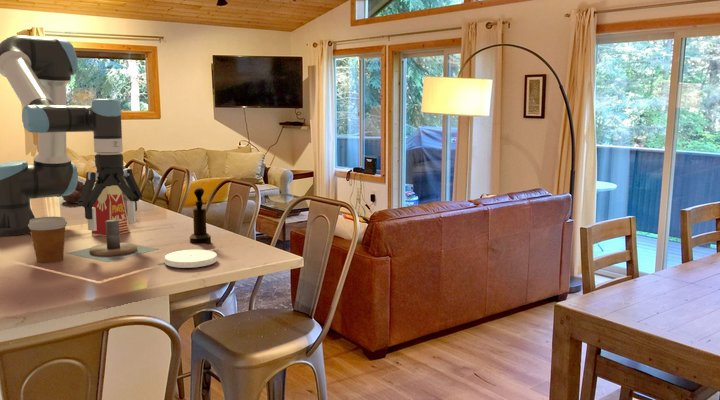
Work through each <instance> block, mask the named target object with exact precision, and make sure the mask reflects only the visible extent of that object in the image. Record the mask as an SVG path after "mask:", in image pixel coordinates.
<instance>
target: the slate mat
mask: <svg viewBox="0 0 720 400" xmlns="http://www.w3.org/2000/svg"><path fill="white" fill-rule="evenodd" d="M120 243H126V242H124V241H120ZM136 245H137V251H136V252H133V253H130V254H126V255H120V256H94V255H91V254H90V253H89V249H90V248H91V247H89V248H88V247H87V248H83V249H79V250H74V251H70V252H66V254H68V255H71V256H77V257H82V258H86V259H92V260H95V261H99V262H101V261H102V262H105V263H111V262H115V261H119V260H123V259H126V258H130V257H134V256H138V255H141V254H142V255H143V254H146V253H150V252H154V251H158V250H159V248H155V247H150V246H145V245H139V244H136Z"/></svg>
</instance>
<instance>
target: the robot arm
mask: <svg viewBox="0 0 720 400" xmlns="http://www.w3.org/2000/svg"><path fill="white" fill-rule="evenodd" d="M78 64H79V63H78V57H77V53H76V49H75V48H74V46H73V44H72V43H71V42H70V41H69V40H68V39H65V38H57V37H49V36H33V35H32V36H31V35H23V34H22V35H21V34H18V35H12V36H9V37H6V38H5V39H3V40H2V41H1V42H0V75H1V76H3V77H4V78H6V80H7V82H8V83H9V85H10V86H11V88H12V89H13V91H14V93H15V95H16V97H17V98H18V99H19V102H20V103H21V105H22V107H23V109H22V112H21V122H22V124H23V128H24V129H25V131H27V132H28V133H37V136H38V137H37V138H38V140H37V141H38V142H37V143H38V146H37V147H38V154H37V155H36V156H34V157H33V164H29V163H28V162H27V161H26V160H16V161H15V160H14V161H12V160H11V161H5V162H0V237H5V236H6V237H10V236H18V235H19V236H20V235H26V234H31V231H30V229H29V227H28V224H29V221H30V220H31V219H34V218H36V217H35V215H34V213H33V211H32V208H31V200H34V199H43V198H44V199H45V198H55V197H57V198H60V197H62V196H65V195H70V194H72V193H73V192H74V190H75V189H76V186H77V182H78V181H79V174H78V173H79V172H78V167H77V165H76V163H74V162H72V158H71V157H70V156H69V155H68V154H67V133H85V132H87V133H88V132H89V133H91V132H92V133H93V150H94V153H95V154H94V165H95V168H96V172H93V171H87V172H86V174H85V177H86V178H85V182H84V183H83V185H84V187H83V190H82V192H81V195H80V198H79V201H78V203H77V206H78V207H82V208H84V216H85V217H84V218H85V219H86V220H87V230H88V231H91V232H92V231H97V225H96V208H94V207H93V205H94V204H95V202H96V200H97V199H98V197H99V196H100V194H101V192H102V191H103V189H104V188H106V186H112V185H115V186H116V185H117V186H118V187H119V188H120V189H121V190H122V192H123V193H124V194H125V195H126V196H127V198H128V199H129V200H130V201H127V215H128V216H127V218H128V223H131V224H136V223H137V215H136V212H137V210H138V202H139V201H140V199H142V198H143V193H142V191H141V190H140V188H139V186H138V183H137V181H136V179H135V177H134V175H133V174H134V173H133V169H132V168H126V167H125V168H124V169H122V166H124V165H125V164H124V155H123V154H122V152H123V150H124V149H123V148H124V147H123V134H122V133H123V132H122V131H123V130H122V129H123V128H122V126H123V125H122V109H121V102H120V101H119V99H116V98H115V99H114V98H94V99H93V100H91V105H67V85H68V84H69V83H70V82H71V81H72V77H71V76H74V75H76V74H77V73H78V67H79V66H78ZM123 175H124V177H125V179H126V182H127V184H128V186H129V187H128V186H127V185H126V182H125V181H124V180H123V178H122V176H123ZM96 179H98V180H96Z"/></svg>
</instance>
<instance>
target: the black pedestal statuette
mask: <svg viewBox="0 0 720 400" xmlns="http://www.w3.org/2000/svg"><path fill="white" fill-rule="evenodd" d="M204 193H205V189H204V188H203V187H202V186H201V187H200V186H197V187H195V188H194V189H193V194H194V195H195V197H196V200H195V202H194V203H195V206H196V208H195V207H194V208H192V216H193V218H192V221H193V224H192V225H193V233H192V234H191V235H190V236H189V244H193V245H203V244H205V245H209V244H211V243H212V241H211V240H212V239H211V238H212V236H211V234H209V233H208V232H207V214H206V212H207V209H206V208H205V207H203V204H204V201H203V200H202V199H203V195H204Z"/></svg>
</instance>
